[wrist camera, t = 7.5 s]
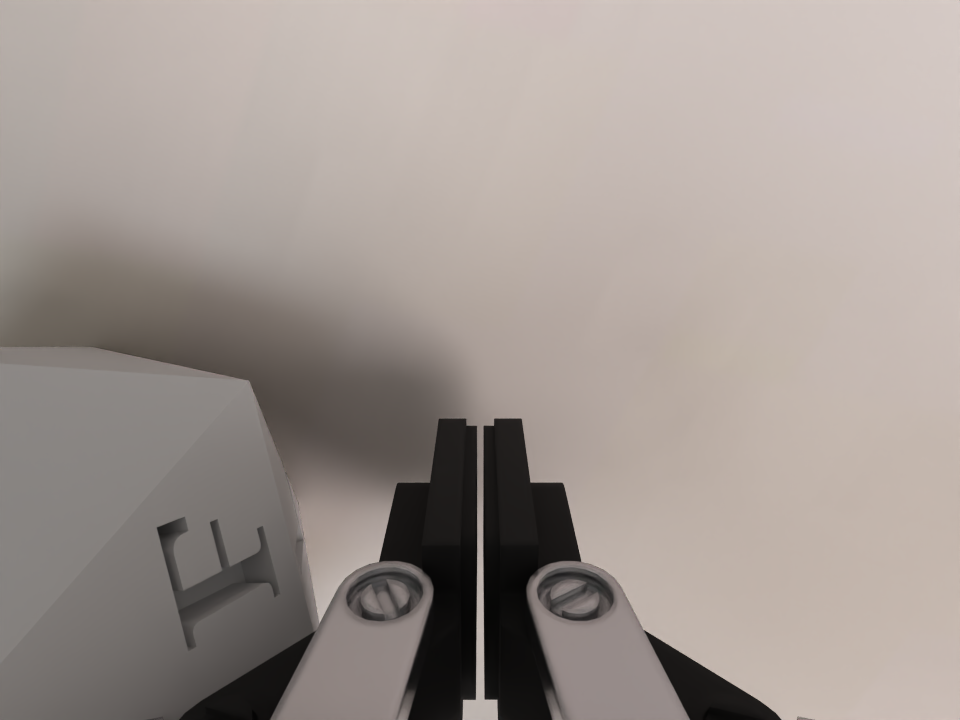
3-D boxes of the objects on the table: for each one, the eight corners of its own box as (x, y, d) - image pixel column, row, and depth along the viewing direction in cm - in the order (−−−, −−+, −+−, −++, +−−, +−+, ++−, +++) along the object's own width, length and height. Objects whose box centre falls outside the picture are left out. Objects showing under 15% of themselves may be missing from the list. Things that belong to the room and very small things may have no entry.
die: (320, 651, 16) (490, 906, 8) (-122, 844, 13) (-882, 1871, 4) (239, 335, 16) (312, 211, 8) (-229, 428, 13) (-1260, 404, 4)
